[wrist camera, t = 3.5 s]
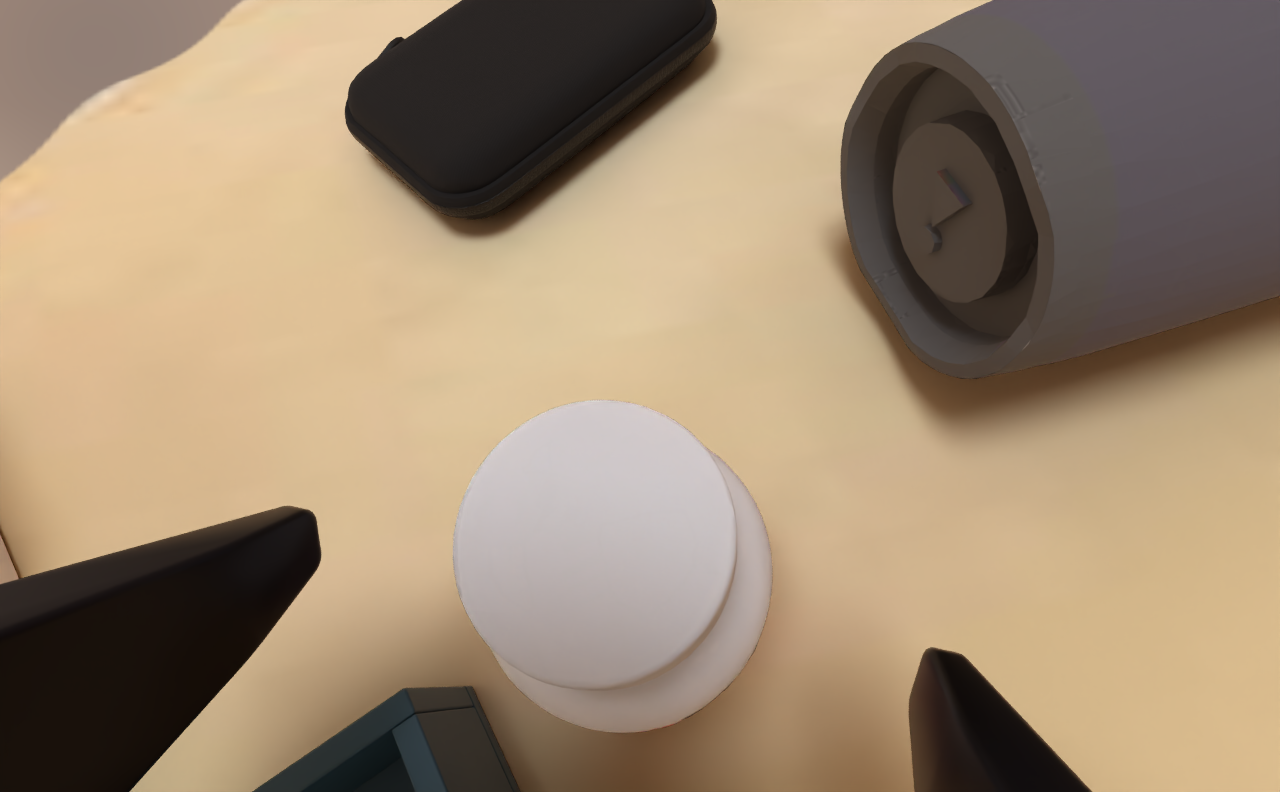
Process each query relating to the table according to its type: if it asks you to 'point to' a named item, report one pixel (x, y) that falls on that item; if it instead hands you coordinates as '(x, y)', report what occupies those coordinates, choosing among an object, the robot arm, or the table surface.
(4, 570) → the long white box
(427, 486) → the table surface
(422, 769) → the tray
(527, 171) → the carrying case
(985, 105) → the bluetooth speaker
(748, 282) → the table surface
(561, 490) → the pill bottle
